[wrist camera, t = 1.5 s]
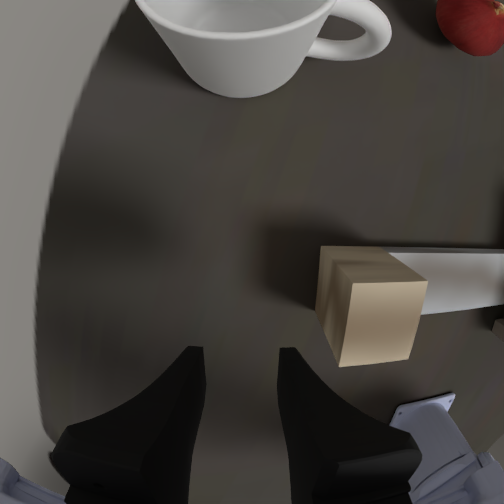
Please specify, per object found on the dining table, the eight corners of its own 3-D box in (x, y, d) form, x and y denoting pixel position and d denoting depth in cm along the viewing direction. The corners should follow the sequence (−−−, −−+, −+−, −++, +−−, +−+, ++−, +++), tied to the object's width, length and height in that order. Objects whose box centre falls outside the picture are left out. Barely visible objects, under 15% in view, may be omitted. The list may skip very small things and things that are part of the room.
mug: (359, 26, 16) (425, -44, 6) (346, 125, 18) (428, 96, 8) (196, -4, 15) (165, -93, 5) (169, 93, 18) (102, 38, 8)
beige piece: (495, 297, 22) (538, 328, 16) (314, 310, 22) (338, 366, 15) (506, 249, 21) (555, 272, 14) (320, 245, 21) (352, 283, 14)
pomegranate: (438, -2, 15) (487, -36, 7) (479, 48, 16) (537, 28, 8) (407, 21, 16) (461, -20, 8) (453, 75, 17) (519, 55, 9)
